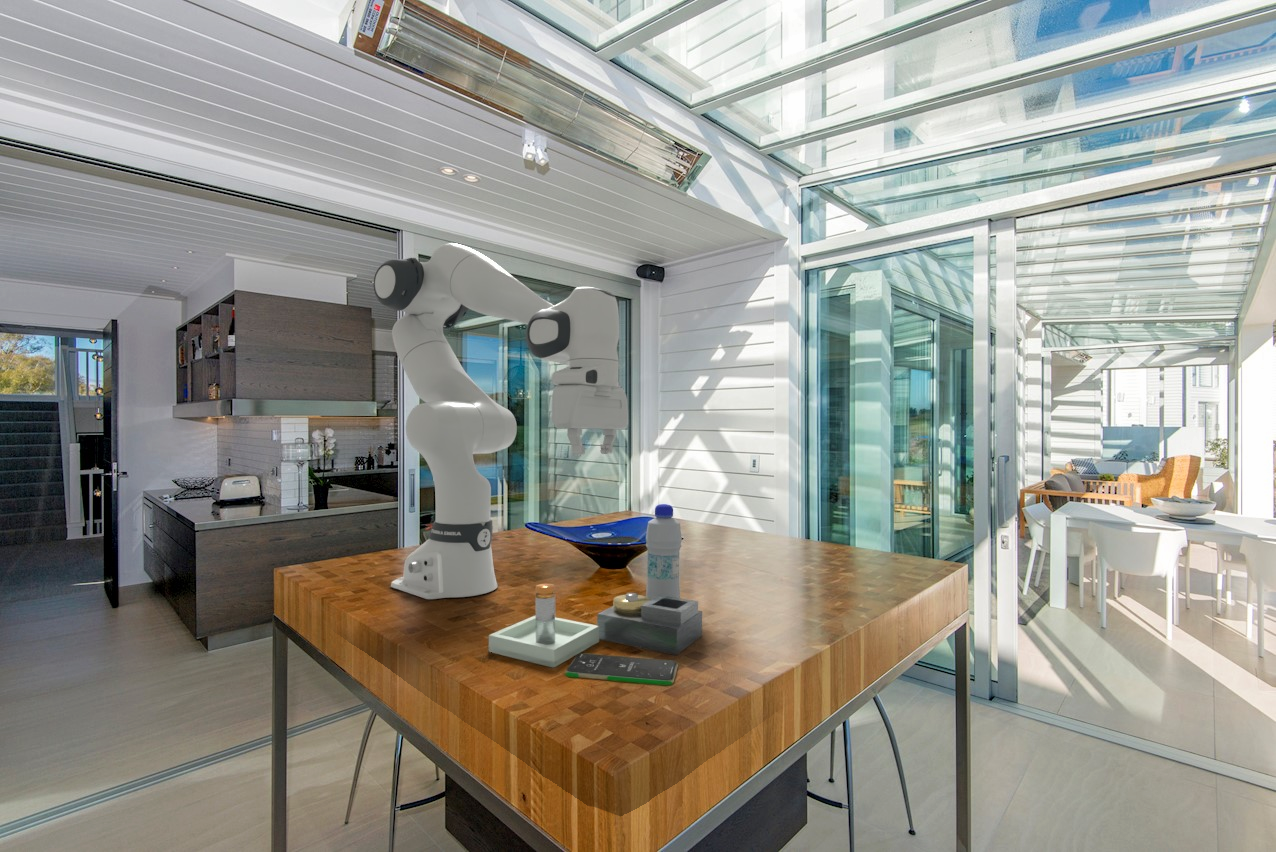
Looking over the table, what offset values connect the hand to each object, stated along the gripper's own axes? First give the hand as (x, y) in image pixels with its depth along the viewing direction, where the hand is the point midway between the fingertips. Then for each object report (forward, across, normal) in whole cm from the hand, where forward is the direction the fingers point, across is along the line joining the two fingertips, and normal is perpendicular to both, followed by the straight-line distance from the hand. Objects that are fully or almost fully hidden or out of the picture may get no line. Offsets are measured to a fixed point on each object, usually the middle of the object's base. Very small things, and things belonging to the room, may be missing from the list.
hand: (592, 454), depth 107 cm
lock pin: (+28, +16, +2) cm, 32 cm away
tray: (+29, +16, +2) cm, 33 cm away
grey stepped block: (+29, +4, +14) cm, 32 cm away
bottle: (+29, -9, +10) cm, 32 cm away
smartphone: (+30, +18, +17) cm, 38 cm away
